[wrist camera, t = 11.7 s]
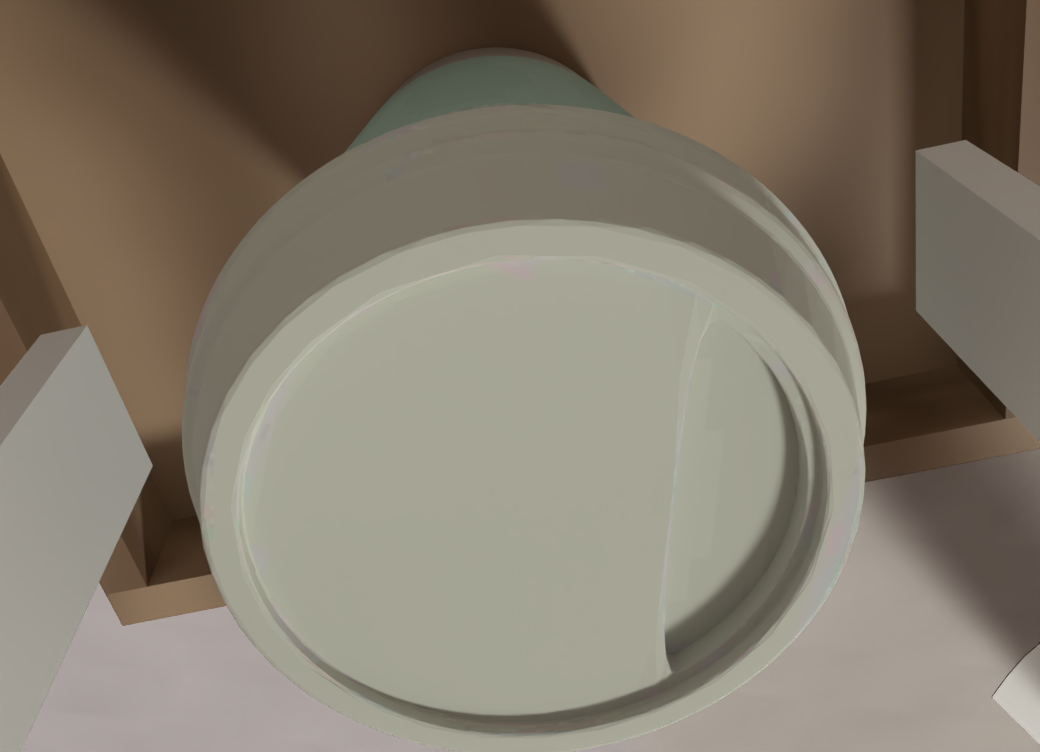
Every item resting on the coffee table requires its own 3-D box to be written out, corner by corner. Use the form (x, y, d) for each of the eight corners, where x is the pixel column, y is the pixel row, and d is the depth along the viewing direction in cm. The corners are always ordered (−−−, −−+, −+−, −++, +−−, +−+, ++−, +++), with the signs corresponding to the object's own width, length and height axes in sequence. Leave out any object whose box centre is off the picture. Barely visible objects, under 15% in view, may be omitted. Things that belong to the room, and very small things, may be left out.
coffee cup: (551, 414, 25) (624, 859, 14) (228, 245, 22) (25, 639, 12) (773, 120, 21) (1081, 418, 11) (424, -121, 19) (387, -34, 8)
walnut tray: (160, 534, 27) (122, 626, 24) (-152, -113, 19) (-268, -99, 16) (977, 372, 26) (1048, 446, 23) (1003, -384, 18) (1114, -424, 15)
